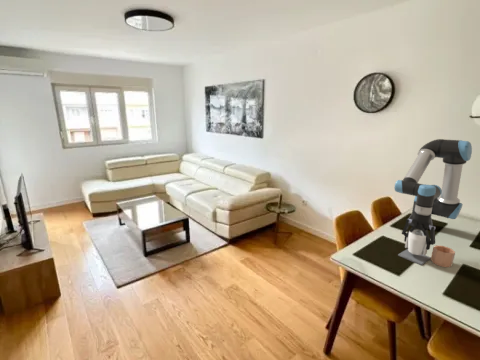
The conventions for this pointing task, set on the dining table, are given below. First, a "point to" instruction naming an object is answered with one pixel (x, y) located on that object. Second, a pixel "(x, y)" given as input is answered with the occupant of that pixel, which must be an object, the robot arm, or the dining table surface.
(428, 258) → the mat
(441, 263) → the pot
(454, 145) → the robot arm
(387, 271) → the dining table surface
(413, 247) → the cup
